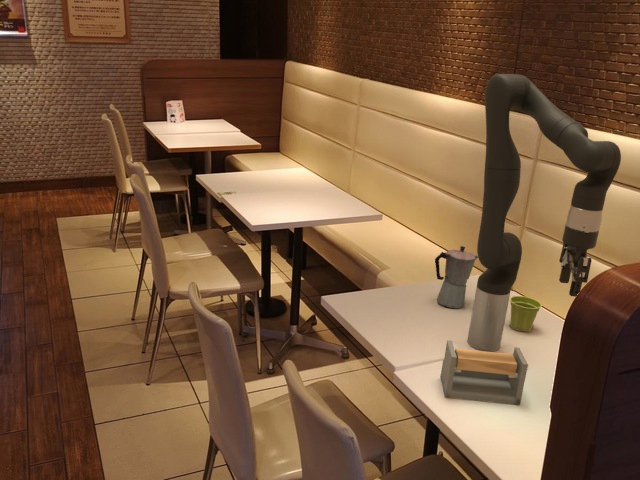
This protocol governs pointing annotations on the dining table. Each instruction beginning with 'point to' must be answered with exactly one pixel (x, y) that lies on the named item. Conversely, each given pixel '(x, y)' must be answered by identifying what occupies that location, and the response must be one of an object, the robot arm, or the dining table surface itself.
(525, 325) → the plant pot
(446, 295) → the moka pot
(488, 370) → the shelf board
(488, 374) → the grey rack
